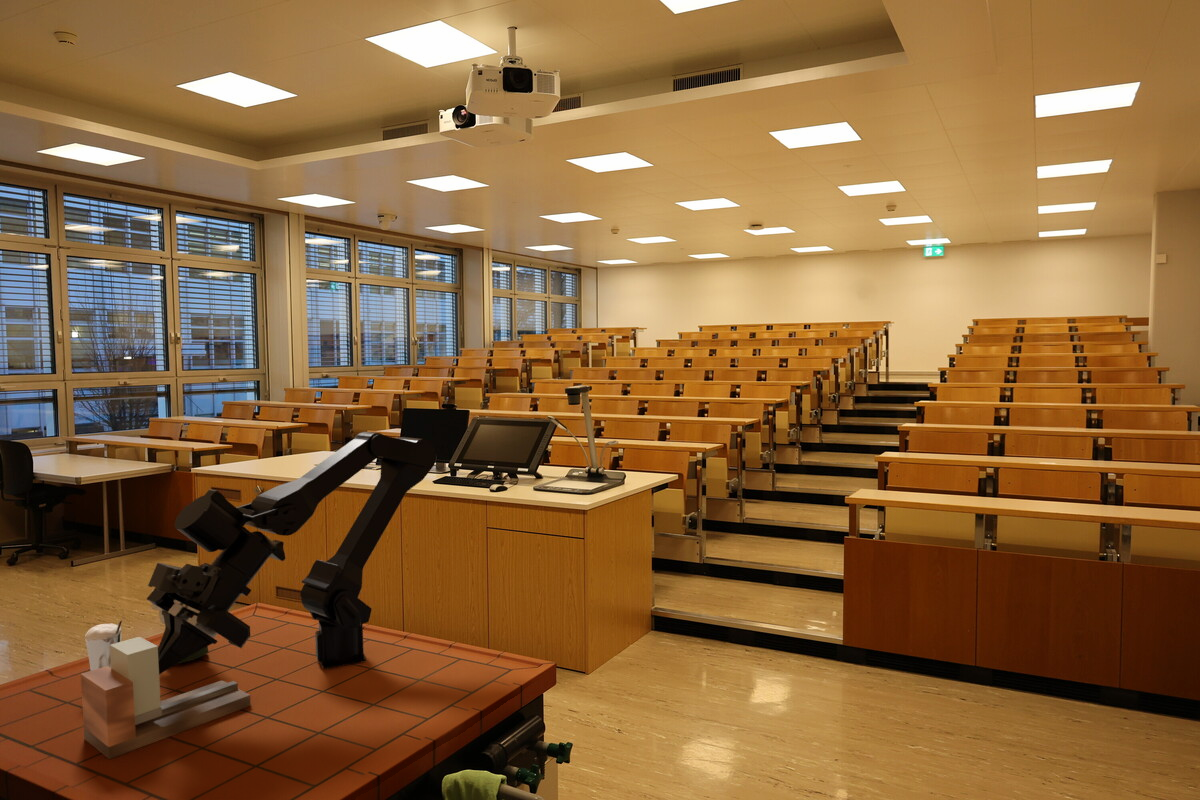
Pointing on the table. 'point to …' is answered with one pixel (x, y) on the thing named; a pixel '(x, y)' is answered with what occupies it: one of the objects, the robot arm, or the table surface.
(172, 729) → the track
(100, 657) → the milkshake
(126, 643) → the block
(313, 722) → the table surface
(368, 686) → the table surface
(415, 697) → the table surface
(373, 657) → the table surface
